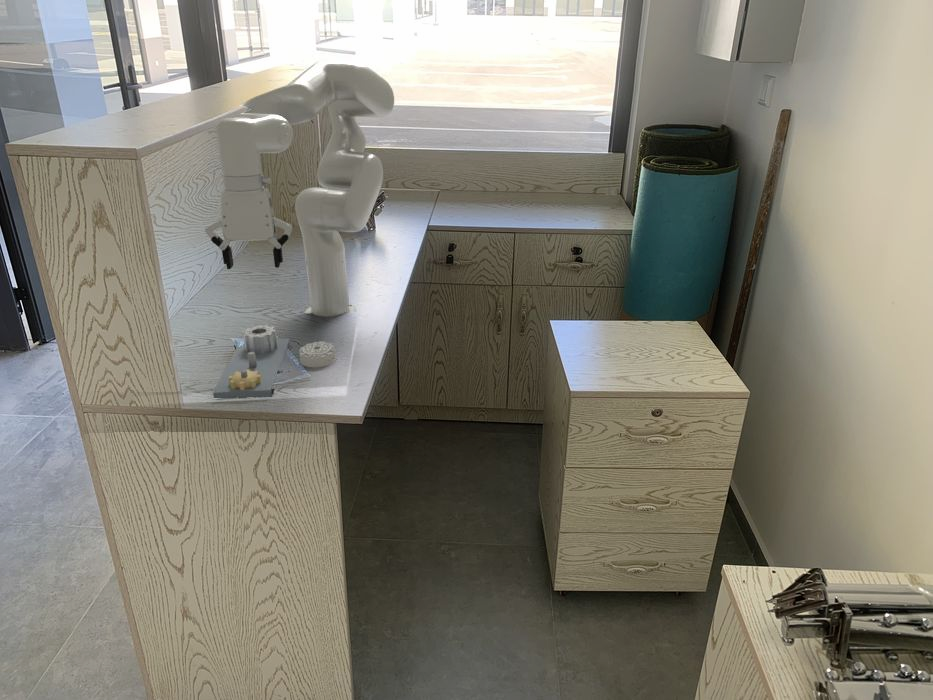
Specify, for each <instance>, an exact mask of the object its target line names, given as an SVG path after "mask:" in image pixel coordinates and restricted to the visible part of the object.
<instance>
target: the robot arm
mask: <svg viewBox="0 0 933 700" xmlns="http://www.w3.org/2000/svg"><path fill="white" fill-rule="evenodd" d="M394 95H395V94H394V90H393V88H392V86H391V85H390V84H389V82H388V81H387V80H386V79H384V78H383V77H382V76H381V75H380V74H378V73H376V72H375V71H374V70H372V69H371V68H370V67H368V66H367V65H365V64H363V62H359V61H356V60H349V59H348V60H347V59H346V60H342V59H341V60H339V59H336V60H334V59H331V60H328V59H327V60H321V61H317V62H315V63H314V64H312V65H311V66H309V67H308V68H306V70H304V71H303V72H302V73H300V74H299V75H298V76H297V77H295V78H294V79H293V80H291V81H290V82H289V83H288V84H286V85H283V86H280V87H277V88H274V89H272V90H270V91H267V92H264V93H261V94H259V95H258V94H257V95H256V96H254V97H252V98H249V99H248V100H246V101H244V102H242V103H240V105H239V106H247V107H248V109H247V110H249V109H251V110H249V111H247V110H246V111H247V112H245V113H241V114H240V115H239V116H237V117H234V118H226V117H225V119H224V118H222V119H223V120H222V121H220V122H221V123H219V124H218V125H217V124H216V125H215V126H216V129H215V130H216V137H217V144H218V150H219V158H220V166H221V173H222V181H223V188H224V189H222V191H221V194H220V216H221V218H220V219H219V220H217V221H215V222H214V223H212V224H210V225H208V226H207V227H206V228H205V229H204V232H205V233H206V235H207V236H208V237H209V238H210V241H211V242H212V243H213V244H214V245H216V246H217V247H218V249H220V251H221V252H222V253H221V254H222V260H223V264H224V265H226V270H231V269H232V268H233V266H234V257H233V249H232V247H231V246H230V243H231V242H250V241H268V242H269V243H270V244H271V245H272V246H273V250H272V253H273V261H274V268H277V269H279V268H280V266H281V264H282V263H284V261H283V260H284V259H283V245H284V244H286V242H287V241H288V240H289V238H290V236H291V233H292V231H293V229H294V226H293V225H292V224H291V223H288V222H286V221H284V220H282V219H280V218H277V217H276V216H275V211H274V205H273V200H272V198H271V197H272V196H271V193H270V189H269V188H267V187H265V185H266V186H267V185H271V176H266V175H264V172H263V169H262V161H261V154H279V153H282V152H284V151H286V150H287V149H289V147H290V146H291V144H292V142H293V139H294V130H293V127H292V126H294V125H298V124H303V123H306V122H309V121H312V120H313V119H315V117H317V116H319V114H320V113H321V112H322V111H323V110H325V109H326V108H327V110H328V113H329V116H330V117H329V118H330V121H331V126H332V127H331V135H330V138H329V141H328V143H327V145H326V148H325V150H324V152H323V154H322V157H321V160H320V162H319V164H318V166H317V170H316V171H317V172H316V179H317V182H318V184H319V185H320V186H321V187H308V188H305V189H304V190H301V191H300V193H298V195H297V196H296V200H295V205H294V211H295V215H296V219H297V221H298V222H297V223H298V225H299V229H300V232H301V237H302V241H303V249H304V256H305V257H304V259H305V267H306V275H307V286H308V293H309V303H310V306H309V307H308V308H307V309H306V310H305V312H304V313H305V314H312V315H315V316H318V317H335V316H340V315H343V314H346V313H347V312H348V313H349V312H357V307H356V306H355V305H353V304H352V303H350V297H349V286H348V275H347V274H348V273H347V264H346V249H345V243H344V242H343V238H342V236H341V235H340V233H339V232H343V233H344V232H345V233H358V232H360V231H361V230H364V228H365V227H366V225H367V223H368V221H369V219H370V217H371V214H372V212H373V209H374V206H375V204H376V201H377V199H378V197H379V194H380V191H381V188H382V185H383V182H384V181H383V180H384V167H383V164H382V161H381V159H380V158H379V157H378V156H377V155H375V154H374V153H371V152H367V151H365V152H364V150H365V148H366V144H367V141H366V140H367V139H366V136H365V133H364V132H363V130H362V128H361V126H360V125H359V123H358V120H357V117H359V118H384V117H387V116H388V115H389V114H390V113H391V112H392V111H393V108H394V105H395V96H394ZM224 121H225V122H224ZM277 227H278V228H280V229H282V230H283V231H284V232H283V234H282V236H280V237H279V236H278V235H277V234H276V233H277ZM219 229H222V235H223V237H224V238H221V237H220V236H219V235H217V233H216V230H219Z"/></svg>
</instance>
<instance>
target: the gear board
mask: <svg viewBox="0 0 933 700" xmlns="http://www.w3.org/2000/svg"><path fill="white" fill-rule="evenodd" d="M290 340H291V339H290V338H277V343H278V347H277V348H274V351H272V352H270V351H269V352H266V354H261V353H259V354H256V355H255V353H254V352H249V353H247V352H246V351H245V347H244V344H243V346H242V345H241V346H240V347H238V345H237V347H236V349H235V350H234V352H233V354H232V356H231V357H230V359H229V362H228V364H226V367H225V369H224V371H223V373H222V375H221V377H220V379H219V381H217V384H216V386H215V388H214V390H213V392H212V397H213V399H214V398H237V397H238V399H248V398H247V397H255V399H256V397H258V398H272V397H273V395H274V391H275V388H273V385H274V383H275V381H276V377H277V374H278V373H279V370H280V367H281V363H282V361H283V359H284V356H285V352H286V350H287V348H288V345H289V343H290ZM242 341H244V340H242Z"/></svg>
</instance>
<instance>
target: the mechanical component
mask: <svg viewBox="0 0 933 700" xmlns="http://www.w3.org/2000/svg"><path fill="white" fill-rule="evenodd" d="M298 352H299V353H298V354H299V363H300V364H301V365H302V366H304V367H307V368H321V367H326V366H329V365H331V364H334V363H335V362H336V361H337V359H338V356H337V351H336V346H335V345H334V344H333V343H332V342H326V341H320V340H319V341H318V342H317V341H314V342H310V343H306V344H305V345H304V346H301V347H300V348H299V350H298Z"/></svg>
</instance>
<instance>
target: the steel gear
mask: <svg viewBox="0 0 933 700" xmlns="http://www.w3.org/2000/svg"><path fill="white" fill-rule="evenodd" d="M241 333H242V338H243V340H244V347H245V351H246V352H247V353H249V352H254V353H255V355H256V354H259V353H261V354H266V352H269V351H270V352H272V351H274V348H277V347H278V343H277V339H278V338H277V331H276V327H275V326H273V325H272V326H270V325H268V324H264V325H259V324H258V325H254V326H252V327H247V328H246V330H243V331H241ZM243 340H242V341H243Z"/></svg>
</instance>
